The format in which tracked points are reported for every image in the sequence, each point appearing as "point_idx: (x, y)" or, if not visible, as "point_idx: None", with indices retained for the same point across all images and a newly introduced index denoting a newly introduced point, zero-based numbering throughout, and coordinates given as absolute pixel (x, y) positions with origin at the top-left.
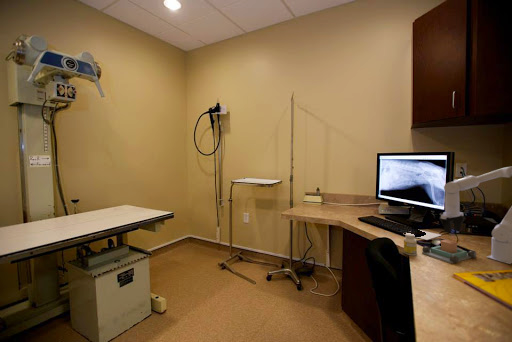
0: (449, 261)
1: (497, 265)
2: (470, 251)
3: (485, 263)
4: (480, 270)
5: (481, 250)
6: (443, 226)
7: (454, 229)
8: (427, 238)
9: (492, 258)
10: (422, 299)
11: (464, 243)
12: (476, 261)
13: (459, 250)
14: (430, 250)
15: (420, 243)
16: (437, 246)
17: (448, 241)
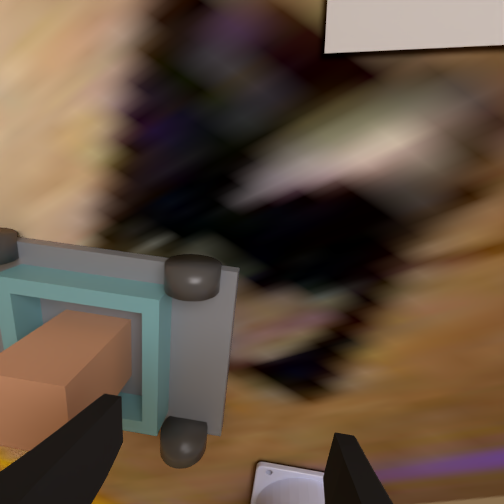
0: None
1: (186, 501)
2: (167, 452)
3: (163, 470)
4: None
5: (391, 414)
6: (11, 465)
7: (337, 437)
8: (388, 21)
9: (253, 485)
10: None
11: (500, 301)
12: (152, 442)
13: (144, 400)
14: (42, 250)
15: (172, 78)
16: (70, 289)
17: (25, 415)
